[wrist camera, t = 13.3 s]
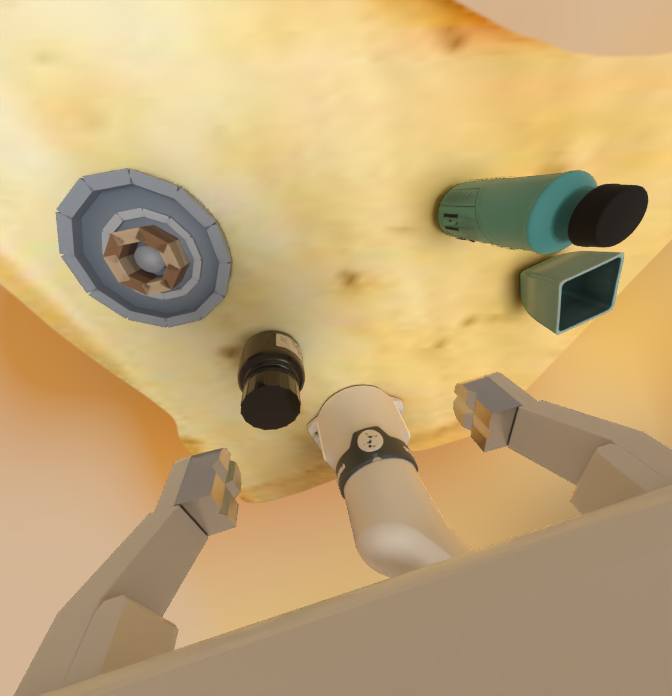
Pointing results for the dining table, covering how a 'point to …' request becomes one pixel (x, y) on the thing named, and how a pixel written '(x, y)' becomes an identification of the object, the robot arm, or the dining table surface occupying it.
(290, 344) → the ink bottle
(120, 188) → the groove tray
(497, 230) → the beverage bottle
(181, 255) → the bead loop
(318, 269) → the dining table surface
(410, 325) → the dining table surface
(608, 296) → the flower pot
